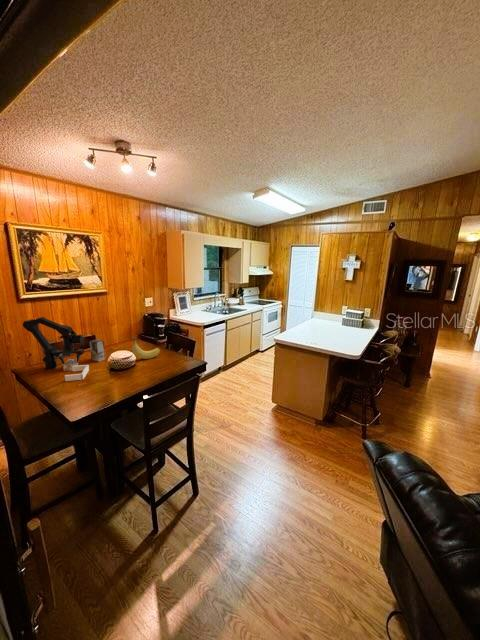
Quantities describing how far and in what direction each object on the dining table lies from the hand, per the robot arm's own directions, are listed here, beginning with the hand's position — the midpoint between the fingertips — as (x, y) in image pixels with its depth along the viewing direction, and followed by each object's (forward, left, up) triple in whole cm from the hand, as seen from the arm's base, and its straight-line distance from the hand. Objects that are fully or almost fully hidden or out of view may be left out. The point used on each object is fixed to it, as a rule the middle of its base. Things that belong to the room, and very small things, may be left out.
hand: (70, 363), depth 200 cm
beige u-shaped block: (+8, -16, -3) cm, 18 cm away
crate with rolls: (0, 0, -3) cm, 3 cm away
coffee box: (+16, +13, -4) cm, 21 cm away
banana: (+54, +7, -4) cm, 55 cm away
